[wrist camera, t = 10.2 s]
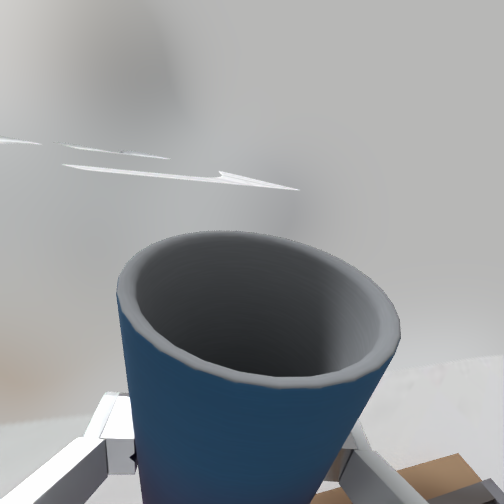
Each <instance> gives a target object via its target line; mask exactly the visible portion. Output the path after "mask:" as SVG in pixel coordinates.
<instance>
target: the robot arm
mask: <svg viewBox="0 0 504 504" xmlns="http://www.w3.org/2000/svg"><path fill="white" fill-rule="evenodd" d="M137 465H138V460H137V453H136V445H135V437H134V429H133V421H132V413H131V406H130V398H129V393H118V392H106V393H105V394H104V395H103V397H102V399H101V401H100V403H99V405H98V407H97V409H96V411H95V413H94V415H93V417H92V419H91V421H90V423H89V425H88V427H87V429H86V431H85V433H84V435H83V437H82V438H76V439H75V440H74V441H73V442H71V443H70V444H69V445H68V446H67V447H65V448H64V449H63V450H62V451H60V452H59V453H58V454H57V455H55V456H54V457H53V458H52V459H51V460H49V461H48V462H47V463H46V464H44V465H43V466H42V467H41V468H40V469H38V470H37V471H36V472H35V473H33V474H32V475H31V476H30V477H28V478H27V479H26V480H25V481H24V482H22V483H21V484H20V485H19V486H17V487H16V488H15V489H14V490H13V491H11V492H10V493H9V494H8V495H6V496H5V497H4V498H3V499H1V500H0V504H84V503H85V502H86V501H87V500H88V499H89V497H90V496H91V495H92V494H93V493H94V492H95V491H96V489H97V488H98V487H99V486H100V485H101V484H102V483H103V481H104V480H105V479H106V478H107V477H108V475H135V472H136V469H137ZM323 481H334V482H339V484H340V486H341V487H342V489H343V490H344V492H345V493H346V494H347V496H348V497H349V499H350V500H351V502H352V503H353V504H429V503H428V502H427V501H426V500H425V499H424V498H423V497H422V496H421V495H420V494H419V493H418V492H417V491H416V490H415V489H414V488H413V487H412V486H411V485H410V484H409V483H408V482H407V481H406V480H405V479H404V478H403V477H402V476H401V475H400V474H399V473H398V472H397V471H396V470H395V469H394V468H393V467H392V466H391V465H390V464H389V463H388V462H387V461H386V460H385V459H384V458H383V457H382V456H381V455H380V454H379V453H378V452H377V451H372V449H371V447H370V444H369V442H368V440H367V437H366V435H365V433H364V430H363V428H362V426H361V423H360V421H359V419H358V420H357V422H356V423H355V425H354V427H353V429H352V430H351V432H350V434H349V436H348V437H347V439H346V441H345V443H344V445H343V446H342V448H341V450H340V452H339V453H338V455H337V457H336V459H335V460H334V462H333V464H332V466H331V467H330V469H329V471H328V473H327V474H326V476H325V478H324V480H323Z"/></svg>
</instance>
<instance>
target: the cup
mask: <svg viewBox="0 0 504 504" xmlns="http://www.w3.org/2000/svg"><path fill="white" fill-rule="evenodd" d="M116 296H117V304H118V311H119V319H120V327H121V335H122V342H123V350H124V358H125V366H126V374H127V382H128V389H129V398H130V406H131V413H132V421H133V429H134V437H135V445H136V453H137V460H138V468H139V476H140V484H141V492H142V500H143V504H310V503H311V501H312V499H313V497H314V496H315V494H316V492H317V490H318V489H319V487H320V485H321V483H322V482H323V480H324V478H325V476H326V474H327V473H328V471H329V469H330V467H331V466H332V464H333V462H334V460H335V459H336V457H337V455H338V453H339V452H340V450H341V448H342V446H343V445H344V443H345V441H346V439H347V437H348V436H349V434H350V432H351V430H352V429H353V427H354V425H355V423H356V422H357V420H358V418H359V416H360V415H361V413H362V411H363V409H364V407H365V406H366V404H367V402H368V400H369V399H370V397H371V395H372V393H373V392H374V390H375V388H376V386H377V385H378V383H379V381H380V379H381V378H382V376H383V374H384V372H385V370H386V369H387V367H388V365H389V363H390V362H391V360H392V358H393V356H394V355H395V352H396V349H397V347H398V344H399V341H400V339H401V332H400V319H399V317H398V315H397V312H396V310H395V308H394V305H393V303H392V302H391V301H390V299H389V298H388V297H387V295H386V294H385V293H384V292H383V290H382V289H381V288H380V287H379V286H378V285H377V284H376V283H374V282H373V281H372V280H371V279H370V278H369V277H368V276H366V275H365V274H363V273H362V272H361V271H359V270H358V269H357V268H355V267H353V266H351V265H350V264H348V263H346V262H345V261H343V260H341V259H339V258H337V257H335V256H333V255H331V254H329V253H327V252H324V251H322V250H319V249H317V248H314V247H311V246H309V245H306V244H302V243H299V242H296V241H293V240H289V239H284V238H281V237H276V236H271V235H266V234H259V233H252V232H241V231H203V232H195V233H188V234H182V235H178V236H174V237H170V238H166V239H164V240H161V241H158V242H156V243H153V244H151V245H149V246H148V247H146V248H144V249H143V250H141V251H139V252H138V253H137V254H136V255H135V256H133V257H132V258H131V259H130V260H129V261H128V262H127V263H126V265H125V267H124V269H123V270H122V272H121V274H120V275H119V278H118V285H117V292H116Z"/></svg>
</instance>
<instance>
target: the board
mask: <svg viewBox="0 0 504 504" xmlns="http://www.w3.org/2000/svg"><path fill="white" fill-rule="evenodd" d="M397 472H398V473H399V474H400V475H401V476H402V477H403V478H404V479H405V480H406V481H407V482H408V483H409V484H410V485H411V486H412V487H413V488H414V489H415V490H416V491H417V492H418V493H419V494H420V495H421V496H422V497H423V498H424V499H425V500H426V501H427V502H428V503H429V504H504V493H503V492H502V490H501V489H500V488H499V487H498V486H497V485H496V484H495V483H494V482H493V480H492V479H491V478H490V479H487V480H484V481H482V480H481V479H480V478H479V477H478V475H477V474H476V473H475V472H474V471H473V470H472V469H471V467H470V466H469V465H468V464H467V463H466V462H465V460H464V459H463V458H462V457H461V456H460V455H459V454H458V453H457V454H453V455H450V456H446V457H443V458H440V459H436V460H433V461H429V462H426V463H422V464H419V465H415V466H412V467H408V468H405V469H402V470H398V471H397ZM310 504H353V503H352V502H351V500H350V499H349V497H348V496H347V494H346V493H345V492H344V490H343V489H342V487H339V488H336V489H332V490H329V491H325V492H322V493H319V494H315V496H314V497H313V499H312V501H311V503H310Z"/></svg>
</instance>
